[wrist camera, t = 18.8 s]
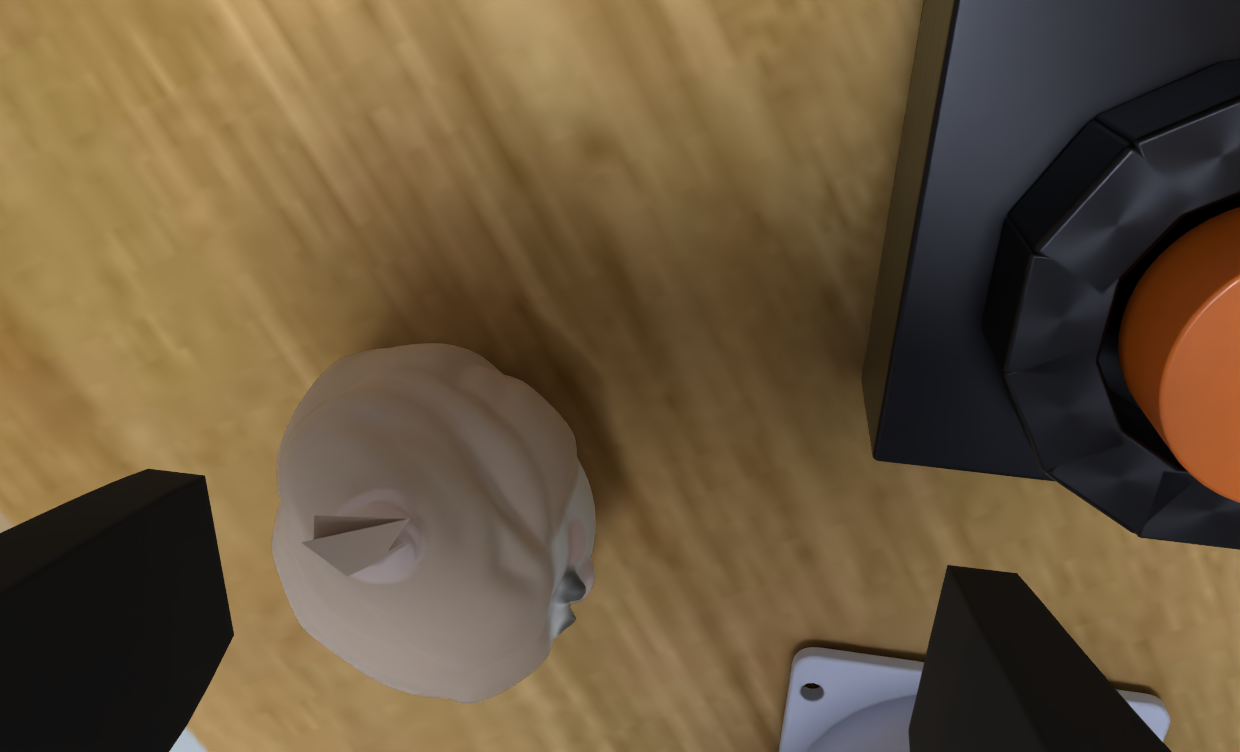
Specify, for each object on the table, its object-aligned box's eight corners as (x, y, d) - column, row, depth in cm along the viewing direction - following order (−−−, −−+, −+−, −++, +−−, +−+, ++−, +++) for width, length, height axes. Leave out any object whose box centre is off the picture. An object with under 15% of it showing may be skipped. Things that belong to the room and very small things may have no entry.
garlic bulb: (687, 440, 20) (627, 721, 13) (519, 616, 23) (394, 928, 16) (430, 245, 19) (216, 433, 12) (287, 452, 22) (44, 704, 15)
